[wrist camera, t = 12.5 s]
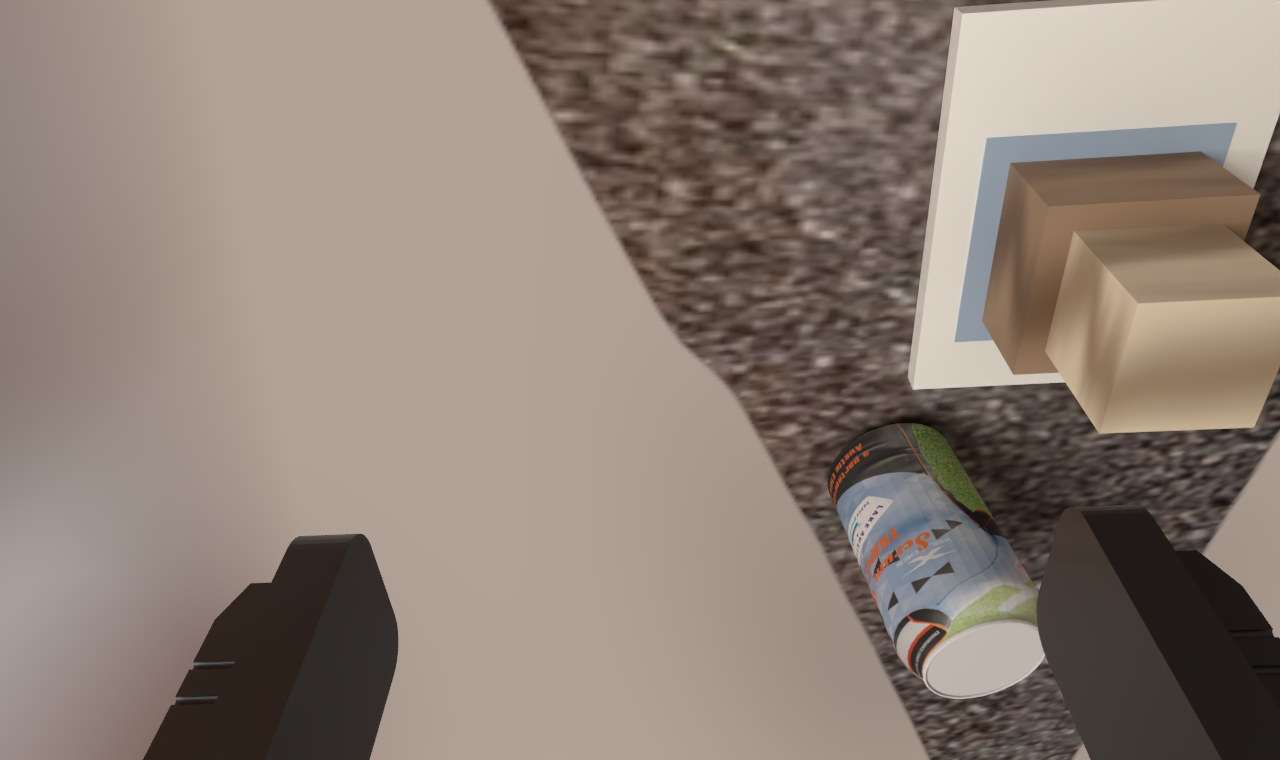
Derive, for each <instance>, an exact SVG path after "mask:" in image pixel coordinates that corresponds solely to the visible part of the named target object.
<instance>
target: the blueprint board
mask: <svg viewBox="0 0 1280 760" xmlns="http://www.w3.org/2000/svg"><path fill="white" fill-rule="evenodd" d="M1279 114H1280V0H1049V1H1035V2H1020V3H1006V4H992V5H977V6H963V7H954V15H953V22H952V30H951V38H950V46H949V54H948V62H947V70H946V78H945V86H944V94H943V102H942V109H941V117H940V125H939V133H938V141H937V149H936V157H935V165H934V173H933V181H932V189H931V196H930V204H929V212H928V220H927V228H926V236H925V244H924V252H923V260H922V268H921V276H920V283H919V291H918V299H917V307H916V315H915V323H914V331H913V339H912V347H911V355H910V363H909V370H908V379H909V381H910V384H911V386H912V389H913V390H914V389H935V388H956V387H977V386H998V385H1019V384H1040V383H1061V382H1065V381H1064V379H1063V378H1062V376H1061V375H1060V373H1041V374H1020V375H1013V373H1012V372H1011V370H1010V368H1009V366H1008V365H1007V363H1006V361H1005V360H1004V358H1003V356H1002V354H1001V353H1000V351H999V349H998V348H997V346H996V344H995V342H994V341H993V339H992V337H991V336H990V334H989V332H988V330H987V329H986V327H985V325H984V324H983V322H982V319H983V313H984V307H985V302H986V296H987V290H988V285H989V279H990V274H991V268H992V262H993V257H994V251H995V245H996V240H997V234H998V229H999V223H1000V217H1001V212H1002V206H1003V200H1004V195H1005V189H1006V183H1007V178H1008V172H1009V167H1010V163H1017V162H1034V161H1050V160H1067V159H1083V158H1100V157H1116V156H1133V155H1149V154H1166V153H1182V152H1199V151H1201V152H1202V153H1204V154H1205V155H1206V156H1208V157H1209V158H1211V159H1212V160H1213V161H1215V162H1216V163H1218V164H1219V165H1220V166H1222V167H1223V168H1225V169H1226V170H1227V171H1229V172H1230V173H1232V174H1233V175H1234V176H1236V177H1237V178H1239V179H1240V180H1241V181H1243V182H1244V183H1246V184H1247V185H1248V186H1250V187H1251V188H1253V189H1254V186H1255V183H1256V180H1257V177H1258V174H1259V172H1260V169H1261V166H1262V163H1263V160H1264V157H1265V154H1266V151H1267V149H1268V146H1269V143H1270V140H1271V137H1272V134H1273V131H1274V128H1275V126H1276V123H1277V120H1278V117H1279Z"/></svg>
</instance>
